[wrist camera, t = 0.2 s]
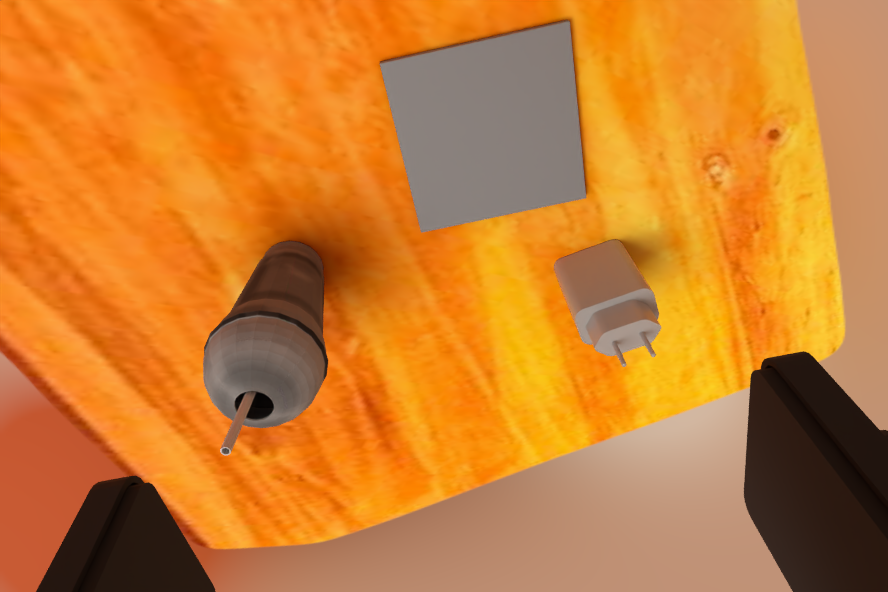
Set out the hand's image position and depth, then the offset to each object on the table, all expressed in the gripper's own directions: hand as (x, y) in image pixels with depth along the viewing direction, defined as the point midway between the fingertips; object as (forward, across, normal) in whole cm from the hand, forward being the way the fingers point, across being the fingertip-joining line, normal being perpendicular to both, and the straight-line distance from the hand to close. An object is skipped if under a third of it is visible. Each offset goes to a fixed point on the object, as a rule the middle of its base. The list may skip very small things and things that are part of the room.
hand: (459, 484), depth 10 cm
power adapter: (+37, -10, +18) cm, 42 cm away
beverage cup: (+37, +12, +13) cm, 41 cm away
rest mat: (+36, -4, +6) cm, 37 cm away
